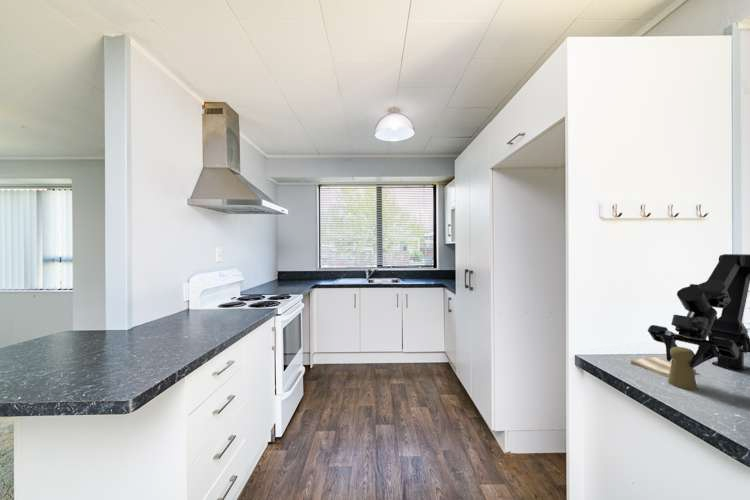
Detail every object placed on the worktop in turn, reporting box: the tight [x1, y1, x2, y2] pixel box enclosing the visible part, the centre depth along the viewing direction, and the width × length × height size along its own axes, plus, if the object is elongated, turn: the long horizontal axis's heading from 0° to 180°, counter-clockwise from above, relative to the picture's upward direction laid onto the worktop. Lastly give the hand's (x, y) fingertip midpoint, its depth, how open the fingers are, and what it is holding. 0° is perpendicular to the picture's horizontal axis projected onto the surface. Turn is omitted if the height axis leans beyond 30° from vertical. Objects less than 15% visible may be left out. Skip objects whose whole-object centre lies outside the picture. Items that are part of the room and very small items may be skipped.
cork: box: [667, 346, 698, 391], centre depth 90 cm, size 6×6×11 cm
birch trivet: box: [630, 356, 697, 378], centre depth 102 cm, size 12×12×1 cm
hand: (679, 363), depth 90 cm, fingers closed on cork, 5 cm apart
